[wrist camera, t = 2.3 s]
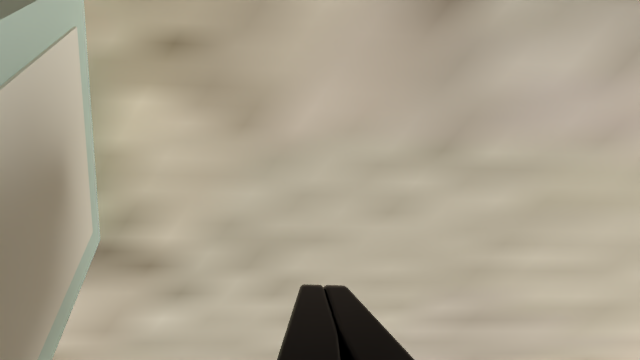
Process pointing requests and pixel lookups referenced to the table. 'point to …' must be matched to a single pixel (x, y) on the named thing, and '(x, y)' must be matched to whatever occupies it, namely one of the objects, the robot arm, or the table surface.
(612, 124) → the table surface
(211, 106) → the table surface
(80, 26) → the tile
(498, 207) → the table surface
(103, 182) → the table surface
